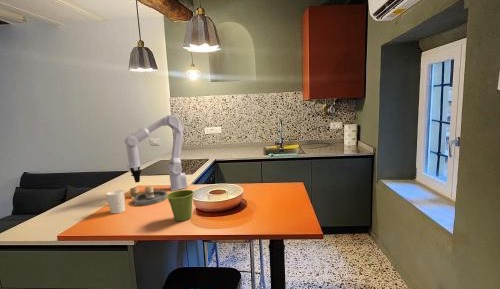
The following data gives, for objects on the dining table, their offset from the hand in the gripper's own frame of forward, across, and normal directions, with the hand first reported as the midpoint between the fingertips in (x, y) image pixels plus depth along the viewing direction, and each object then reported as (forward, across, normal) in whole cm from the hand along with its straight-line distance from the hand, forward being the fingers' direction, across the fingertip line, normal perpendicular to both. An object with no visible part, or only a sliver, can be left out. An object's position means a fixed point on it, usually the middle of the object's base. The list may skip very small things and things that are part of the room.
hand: (137, 180), depth 166 cm
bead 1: (+10, -2, -2) cm, 10 cm away
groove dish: (+10, +10, +5) cm, 15 cm away
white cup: (+10, +18, -11) cm, 24 cm away
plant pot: (+10, +49, +15) cm, 52 cm away
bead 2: (+9, +5, +5) cm, 12 cm away
